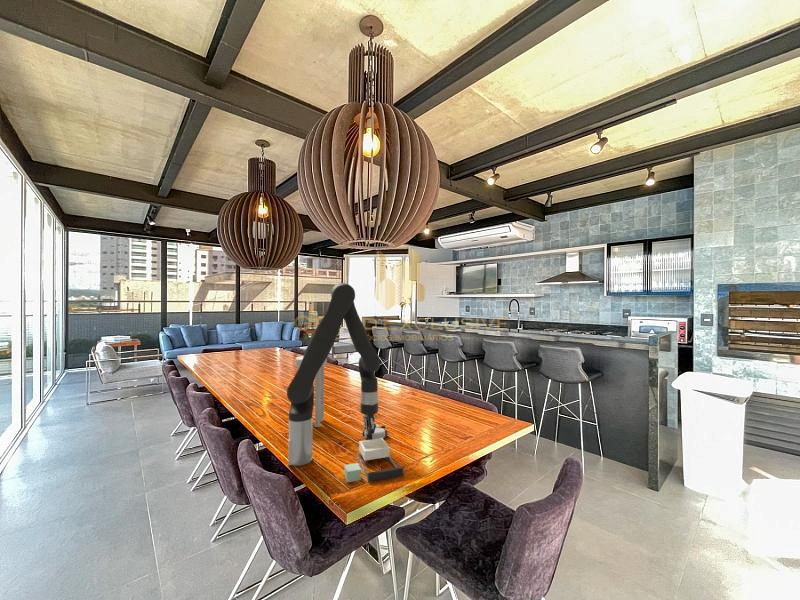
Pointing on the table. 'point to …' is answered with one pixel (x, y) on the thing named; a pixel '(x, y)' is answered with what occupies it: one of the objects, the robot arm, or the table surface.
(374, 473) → the track
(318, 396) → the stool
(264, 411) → the table surface
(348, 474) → the block
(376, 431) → the robot toy
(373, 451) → the white square tray
